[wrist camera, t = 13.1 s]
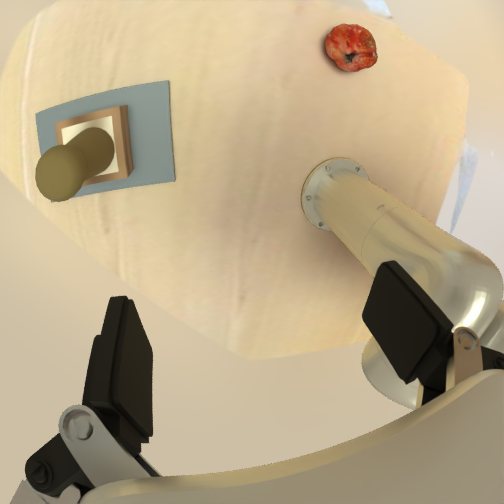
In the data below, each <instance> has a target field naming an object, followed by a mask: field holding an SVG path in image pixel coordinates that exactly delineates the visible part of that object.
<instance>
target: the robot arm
mask: <svg viewBox="0 0 504 504" xmlns="http://www.w3.org/2000/svg"><path fill="white" fill-rule="evenodd" d="M325 167H326V168H325ZM302 207H303V211H304V213H305V215H306V217H307V218H308V219H309V221H310V222H311V223H312V224H313V225H314V226H316V227H318V228H319V229H323V230H327V231H333V232H334V233H335V234H336V236H337V237H338V238H339V239H340V240H341V241H342V242H343V243H344V244H345V246H346V247H347V248H348V249H349V250H350V251H351V252H352V253H353V255H354V256H355V257H356V258H357V259H358V260H359V261H360V263H361V264H362V265H363V266H364V267H365V269H366V270H367V271H368V272H369V273H370V274H371V275H372V276H373V277H374V281H373V284H372V287H371V290H370V293H369V296H368V299H367V302H366V304H365V307H364V310H363V313H362V318H363V321H364V323H365V324H366V326H367V327H368V329H369V330H370V332H371V333H372V335H373V336H372V337H371V339H370V340H369V342H368V343H367V345H366V346H365V349H364V351H363V354H362V368H363V372H364V374H365V376H366V378H367V379H368V381H369V382H370V383H371V385H372V386H373V387H374V388H375V389H376V390H377V391H379V392H380V393H381V394H383V395H384V396H386V397H387V398H389V399H390V400H392V401H394V402H396V403H398V404H401V405H403V406H405V407H407V408H410V409H412V410H414V411H413V412H410V413H409V414H407V415H405V416H403V417H401V418H399V419H397V420H395V421H393V422H391V423H389V424H387V425H384V426H382V427H380V428H378V429H376V430H373V431H372V432H369V433H367V434H364V435H362V436H359V437H357V438H354V439H352V440H349V441H347V442H344V443H341V444H338V445H336V446H333V447H330V448H327V449H324V450H321V451H318V452H314V453H311V454H307V455H304V456H300V457H297V458H293V459H289V460H285V461H281V462H277V463H273V464H268V465H262V466H258V467H252V468H246V469H240V470H233V471H225V472H218V473H209V474H198V475H183V476H166V477H163V476H162V475H161V474H160V473H159V472H158V471H157V470H156V469H155V468H154V467H152V465H151V464H150V463H149V462H148V461H147V460H146V459H145V458H144V457H143V456H142V455H141V454H140V452H141V443H149V437H152V435H153V417H152V416H153V414H152V370H153V369H152V368H153V352H152V347H151V345H150V343H149V340H148V338H147V335H146V333H145V330H144V328H143V325H142V323H141V320H140V318H139V315H138V312H137V310H136V307H135V304H134V302H133V300H132V299H130V300H128V298H127V296H116V297H111V298H110V300H109V303H108V307H107V311H106V315H105V319H104V323H103V327H102V331H101V335H96V337H95V338H94V341H93V345H92V350H91V355H90V359H89V365H88V370H87V376H86V381H85V387H84V393H83V400H82V405H73V406H71V407H69V408H67V409H66V410H65V411H64V412H63V413H62V415H61V417H60V420H59V432H60V433H58V434H57V435H56V436H55V437H54V438H52V439H51V440H50V441H49V442H48V443H46V444H45V445H44V446H43V447H42V448H40V449H39V450H38V451H37V452H35V453H34V454H33V455H32V456H31V457H30V458H29V459H28V460H27V462H26V465H25V474H26V478H27V479H26V481H24V480H22V481H21V483H20V485H19V487H18V489H17V491H16V493H15V495H14V497H13V499H12V501H11V503H10V504H504V300H502V297H503V290H504V286H503V279H502V276H501V273H500V271H499V269H498V268H497V266H496V265H495V264H494V263H493V262H492V261H491V260H490V259H489V258H488V257H486V256H485V255H484V254H482V253H481V252H480V251H478V250H476V249H475V248H473V247H471V246H470V245H468V244H466V243H464V242H462V241H461V240H459V239H457V238H455V237H454V236H452V235H450V234H449V233H447V232H445V231H443V230H442V229H440V228H439V227H437V226H436V225H435V224H433V223H432V222H430V221H429V220H427V219H426V218H424V217H423V216H421V215H420V214H419V213H417V212H416V211H414V210H413V209H411V208H410V207H409V206H407V205H406V204H404V203H403V202H401V201H400V200H398V199H397V198H395V197H394V196H392V195H391V194H389V193H388V192H387V190H386V189H381V188H380V187H378V186H376V185H375V184H373V183H372V182H370V181H369V177H368V175H367V173H366V171H365V170H364V169H363V168H362V167H361V166H360V165H359V164H358V163H356V162H354V161H352V160H350V159H346V158H334V159H330V160H327V161H325V162H323V163H322V164H320V165H319V166H317V167H316V168H315V169H314V170H313V171H312V172H311V174H310V175H309V176H308V178H307V180H306V182H305V184H304V187H303V191H302Z"/></svg>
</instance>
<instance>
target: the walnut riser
mask: <svg viewBox="0 0 504 504" xmlns="http://www.w3.org/2000/svg"><path fill="white" fill-rule="evenodd" d="M91 127H97V128H101V129H103V130H105V131H107V133H108V134H109V135H110V136H111V137H112V140H113V142H114V148H115V153H114V158H113V161H112V162H111V164H110V166H109V167H108V168H107V169H106V170H105V171H103V172H101V173H100V174H98V175H96V176H94V177H92V178H90V179H88V180H86V181H84V182H83V185H82V186H86V185H91V184H96V183H101V182H106V181H112V180H118V179H123V178H128V177H129V175H130V174H131V173H132V171H133V170H134V166H133V159H132V151H131V142H130V132H129V121H128V107H127V105H124V106H118V107H113V108H108V109H104V110H100V111H96V112H92V113H88V114H84V115H80V116H77V117H73V118H70V119H67V120H63V121H60V122H57V123H55V129H56V137H57V144H58V145H61V144H62V145H65V144H66V143H68V142H69V141H70V140H71V139H72V138H74V137H75V136H76V135H77V134H79V133H80V132H81V131H83V130H85V129H86V128H91Z"/></svg>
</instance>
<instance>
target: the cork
mask: <svg viewBox="0 0 504 504" xmlns="http://www.w3.org/2000/svg"><path fill="white" fill-rule="evenodd" d="M114 153H115V148H114V142H113V140H112V137H111V136H110V135H109V134H108V133H107V131H105V130H103V129H101V128H97V127H91V128H86V129H85V130H83V131H81V132H80V133H79V134H77V135H76V136H75V137H74V138H72V139H71V140H70V141H69V142H68V143H66V144H65V145H62V144H61V145H57V146H54V147H51V148H50V149H49V150H47V151H46V152H45V153H44V154H43V155H42V157H41V158H40V159H39V161H38V164H37V167H36V176H35V179H36V183H37V187H38V189H39V191H40V192H41V193H42V194H43V195H44V197H46V198H48V199H50V200H52V201H57V202H60V201H65V200H68V199H70V198H71V197H73V196H74V195H75V194H76V193H77V192H78V191H79V190H80V189H81V187H82V185H83V182H84V181H86V180H88V179H90V178H92V177H94V176H96V175H98V174H100V173H101V172H103V171H105V170H106V169H107V168H108V167H109V166H110V164H111V162H112V161H113V158H114Z"/></svg>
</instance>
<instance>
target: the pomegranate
mask: <svg viewBox="0 0 504 504" xmlns="http://www.w3.org/2000/svg"><path fill="white" fill-rule="evenodd" d="M325 45H326V51H327V54H328V56H329V57H330V58H332V59H333V60H334V61H335V62H336V64H337V66H338V67H339V68H341V69H343V70H345V71H350V72H354V71H359V70H361V69H364V68H370V67H371V66H373V65H374V64H375V63H376V61H377V57H378V56H377V53H376V44H375V40H374V38H373V36H372V34H371V33H370V32H369V31H368V30H367V29H365V28H364V27H361V26H359V25H357V24H356V25H354V24H352V25H347V24H341V25H339V26H336V27H334V28H333V29H332V31H331V33H330V34H328V35H327V37H326V41H325Z"/></svg>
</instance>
